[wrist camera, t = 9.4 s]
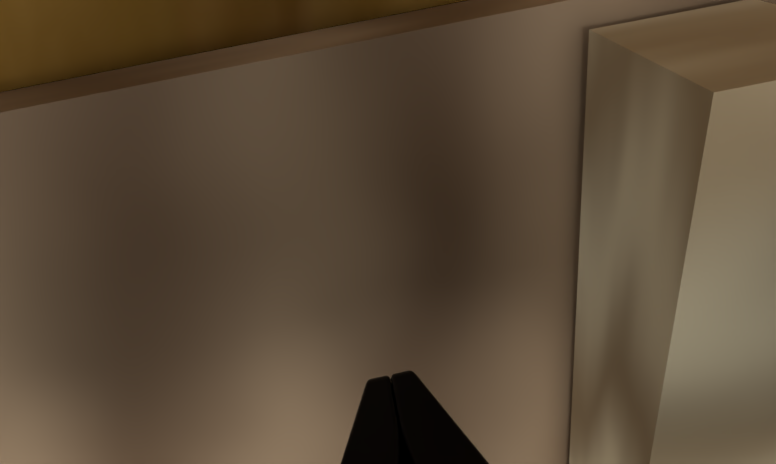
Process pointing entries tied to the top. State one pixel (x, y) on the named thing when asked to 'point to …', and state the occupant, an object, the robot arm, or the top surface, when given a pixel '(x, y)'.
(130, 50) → the top surface
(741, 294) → the fold-out leg
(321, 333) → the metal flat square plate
